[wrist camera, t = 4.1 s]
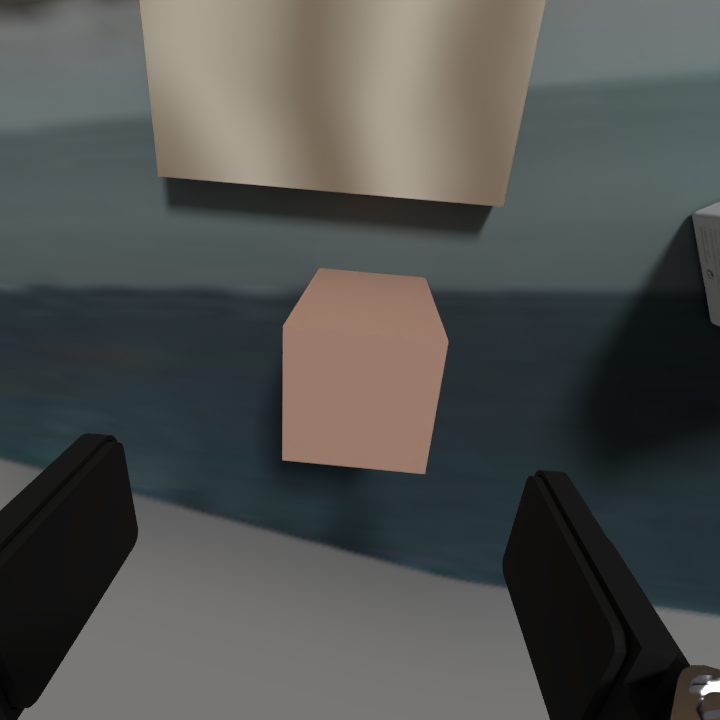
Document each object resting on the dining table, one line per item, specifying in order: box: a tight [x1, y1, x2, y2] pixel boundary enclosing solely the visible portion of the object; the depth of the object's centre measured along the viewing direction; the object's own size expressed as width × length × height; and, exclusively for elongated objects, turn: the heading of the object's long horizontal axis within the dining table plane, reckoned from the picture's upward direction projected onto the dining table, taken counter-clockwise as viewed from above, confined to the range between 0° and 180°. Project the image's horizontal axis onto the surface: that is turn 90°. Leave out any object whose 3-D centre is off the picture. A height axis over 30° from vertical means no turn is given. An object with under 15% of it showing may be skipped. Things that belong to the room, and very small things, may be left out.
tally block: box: [282, 268, 448, 474], centre depth 18 cm, size 5×5×8 cm
